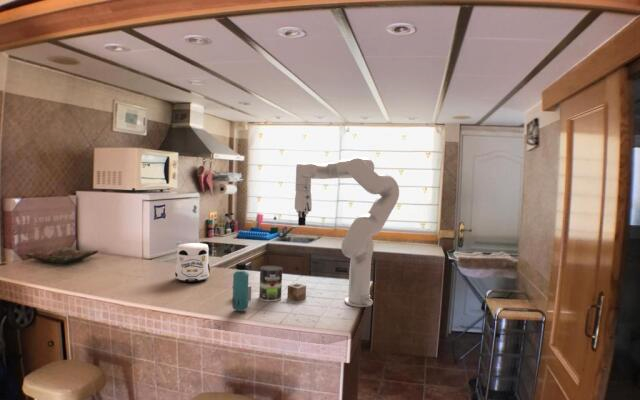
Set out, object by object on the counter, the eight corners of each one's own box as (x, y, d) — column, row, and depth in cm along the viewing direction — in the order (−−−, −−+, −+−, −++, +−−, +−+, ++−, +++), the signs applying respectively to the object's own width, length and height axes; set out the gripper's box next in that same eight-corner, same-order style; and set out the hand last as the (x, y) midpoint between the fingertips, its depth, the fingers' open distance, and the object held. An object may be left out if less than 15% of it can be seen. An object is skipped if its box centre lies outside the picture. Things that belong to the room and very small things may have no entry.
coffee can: (283, 301, 174) (284, 270, 173) (260, 302, 171) (261, 270, 170) (279, 294, 184) (280, 264, 183) (257, 294, 181) (258, 265, 180)
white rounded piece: (187, 286, 190) (188, 250, 189) (168, 279, 200) (168, 245, 199) (216, 279, 204) (217, 246, 202) (196, 273, 214) (197, 241, 213)
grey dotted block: (250, 299, 174) (251, 286, 174) (237, 300, 173) (237, 286, 172) (249, 295, 180) (250, 282, 180) (236, 296, 179) (237, 282, 178)
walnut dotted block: (305, 298, 179) (306, 285, 179) (296, 301, 175) (297, 287, 174) (296, 295, 183) (296, 282, 183) (287, 298, 178) (287, 285, 178)
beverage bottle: (249, 308, 163) (250, 261, 161) (246, 314, 156) (248, 265, 155) (233, 308, 162) (234, 261, 161) (230, 313, 156) (231, 265, 154)
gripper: (317, 189, 186) (315, 227, 187) (302, 187, 199) (301, 223, 200) (303, 189, 182) (301, 227, 184) (289, 187, 195) (288, 223, 196)
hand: (301, 225), depth 192 cm, fingers closed
